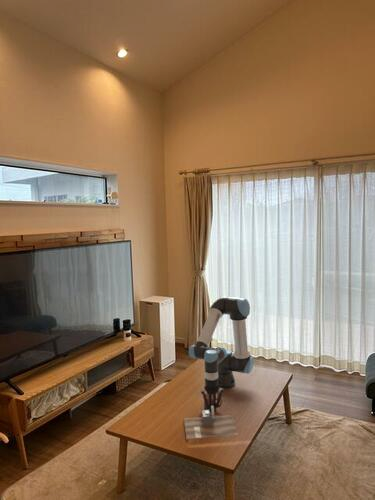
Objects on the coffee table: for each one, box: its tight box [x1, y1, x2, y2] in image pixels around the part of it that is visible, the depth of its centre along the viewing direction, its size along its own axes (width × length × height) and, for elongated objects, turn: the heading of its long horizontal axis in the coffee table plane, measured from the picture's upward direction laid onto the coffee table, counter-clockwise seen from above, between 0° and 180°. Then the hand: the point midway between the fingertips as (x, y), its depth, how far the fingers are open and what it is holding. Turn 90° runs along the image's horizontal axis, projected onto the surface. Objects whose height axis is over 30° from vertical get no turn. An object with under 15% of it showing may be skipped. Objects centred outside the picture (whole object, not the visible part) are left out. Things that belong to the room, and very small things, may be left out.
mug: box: [202, 391, 223, 410], centre depth 223 cm, size 12×9×10 cm
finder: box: [201, 409, 212, 425], centre depth 211 cm, size 7×5×5 cm
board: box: [183, 414, 239, 442], centre depth 208 cm, size 23×28×1 cm
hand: (212, 417), depth 211 cm, fingers closed
